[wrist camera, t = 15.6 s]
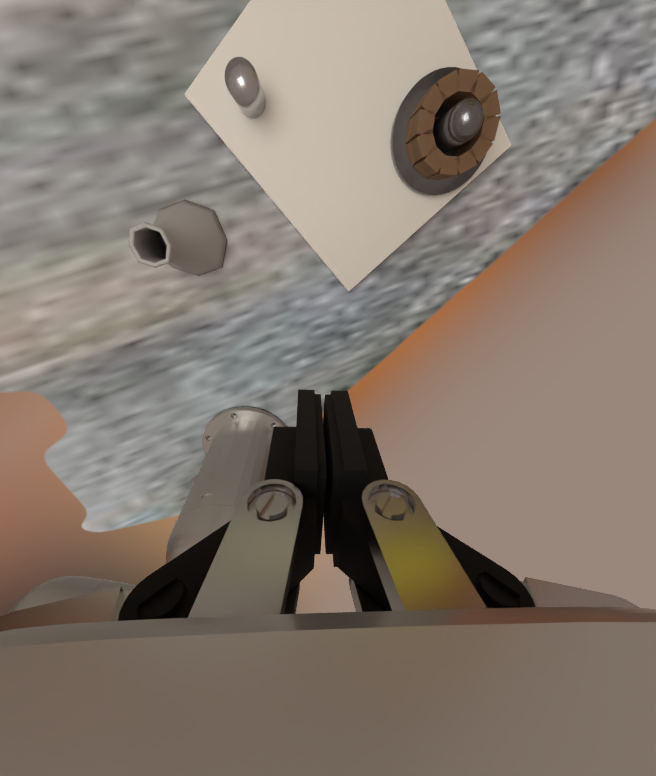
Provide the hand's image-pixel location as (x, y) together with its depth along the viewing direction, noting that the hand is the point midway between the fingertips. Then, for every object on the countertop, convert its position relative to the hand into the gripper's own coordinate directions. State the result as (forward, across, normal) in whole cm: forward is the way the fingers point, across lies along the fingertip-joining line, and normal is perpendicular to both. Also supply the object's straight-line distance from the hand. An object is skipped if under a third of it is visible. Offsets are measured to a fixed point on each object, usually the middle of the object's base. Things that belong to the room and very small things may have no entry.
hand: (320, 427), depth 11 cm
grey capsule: (+26, +6, -16) cm, 31 cm away
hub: (+26, -11, -15) cm, 32 cm away
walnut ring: (+25, -11, -15) cm, 31 cm away
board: (+28, -3, -15) cm, 32 cm away
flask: (+28, +13, -5) cm, 32 cm away
